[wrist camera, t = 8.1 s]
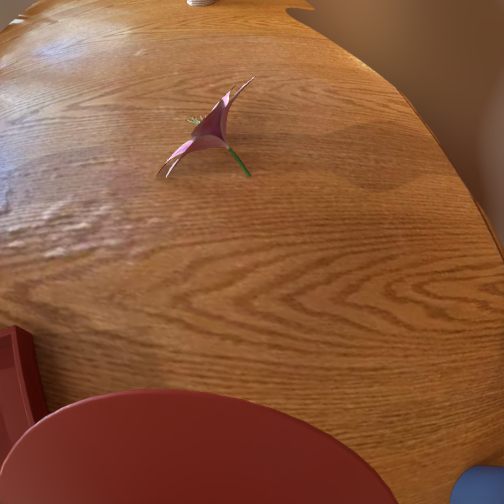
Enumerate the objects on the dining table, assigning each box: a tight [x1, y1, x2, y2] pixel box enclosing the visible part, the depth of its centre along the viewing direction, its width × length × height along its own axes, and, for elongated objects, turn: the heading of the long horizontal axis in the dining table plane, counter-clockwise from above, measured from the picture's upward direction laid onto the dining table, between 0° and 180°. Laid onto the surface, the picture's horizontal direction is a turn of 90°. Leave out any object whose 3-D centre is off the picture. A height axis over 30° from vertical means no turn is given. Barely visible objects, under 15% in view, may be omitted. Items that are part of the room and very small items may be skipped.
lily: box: [157, 76, 256, 177], centre depth 27 cm, size 12×12×10 cm
